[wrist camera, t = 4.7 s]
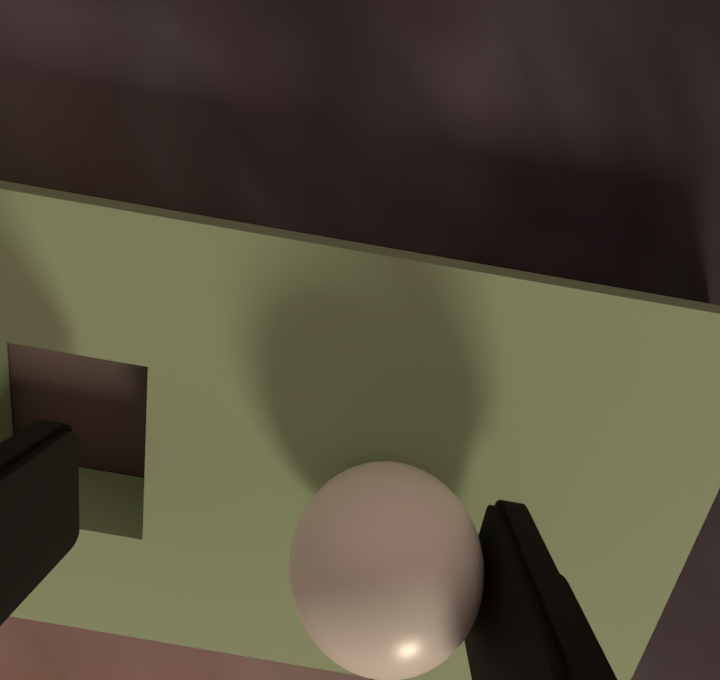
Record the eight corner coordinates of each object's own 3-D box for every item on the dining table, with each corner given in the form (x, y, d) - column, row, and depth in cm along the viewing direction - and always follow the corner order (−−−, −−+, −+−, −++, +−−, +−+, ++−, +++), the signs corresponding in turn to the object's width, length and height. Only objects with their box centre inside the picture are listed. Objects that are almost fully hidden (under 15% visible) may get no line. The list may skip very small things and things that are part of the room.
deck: (710, 303, 12) (794, 326, 9) (576, 639, 15) (612, 718, 13) (-115, 160, 12) (-240, 147, 9) (-66, 529, 15) (-150, 588, 13)
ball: (553, 522, 8) (370, 588, 6) (498, 680, 9) (329, 783, 7) (420, 419, 11) (272, 439, 9) (392, 546, 12) (253, 589, 10)
